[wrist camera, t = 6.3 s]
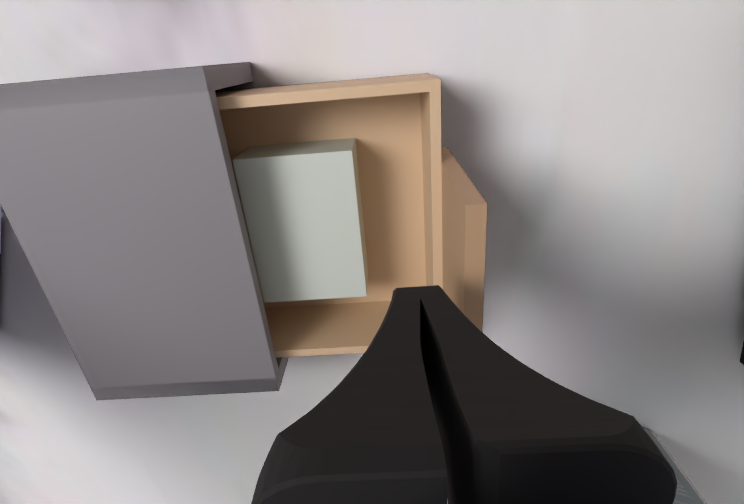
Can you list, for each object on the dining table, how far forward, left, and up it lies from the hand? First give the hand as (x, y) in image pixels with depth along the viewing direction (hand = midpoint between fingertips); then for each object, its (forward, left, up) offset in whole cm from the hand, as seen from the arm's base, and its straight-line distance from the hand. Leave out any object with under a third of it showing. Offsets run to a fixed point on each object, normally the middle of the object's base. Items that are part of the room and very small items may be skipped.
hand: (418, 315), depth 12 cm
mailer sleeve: (-5, +10, -10) cm, 15 cm away
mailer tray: (-2, +4, -10) cm, 11 cm away
